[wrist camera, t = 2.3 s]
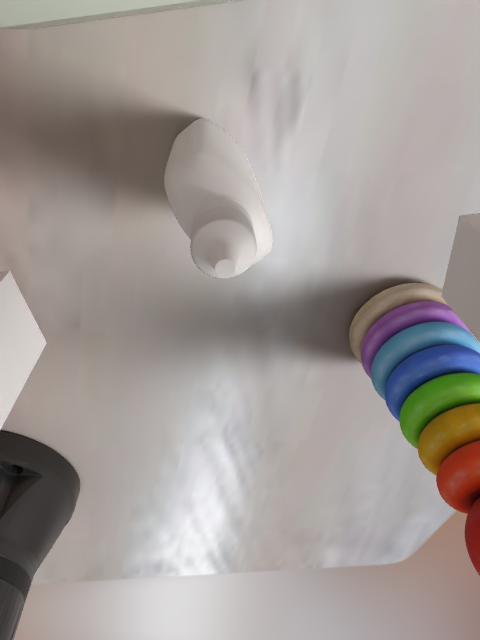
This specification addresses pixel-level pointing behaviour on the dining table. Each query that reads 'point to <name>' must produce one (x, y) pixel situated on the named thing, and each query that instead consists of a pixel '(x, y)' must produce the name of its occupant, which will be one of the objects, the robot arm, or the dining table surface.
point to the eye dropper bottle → (217, 200)
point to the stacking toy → (428, 387)
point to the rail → (82, 10)
